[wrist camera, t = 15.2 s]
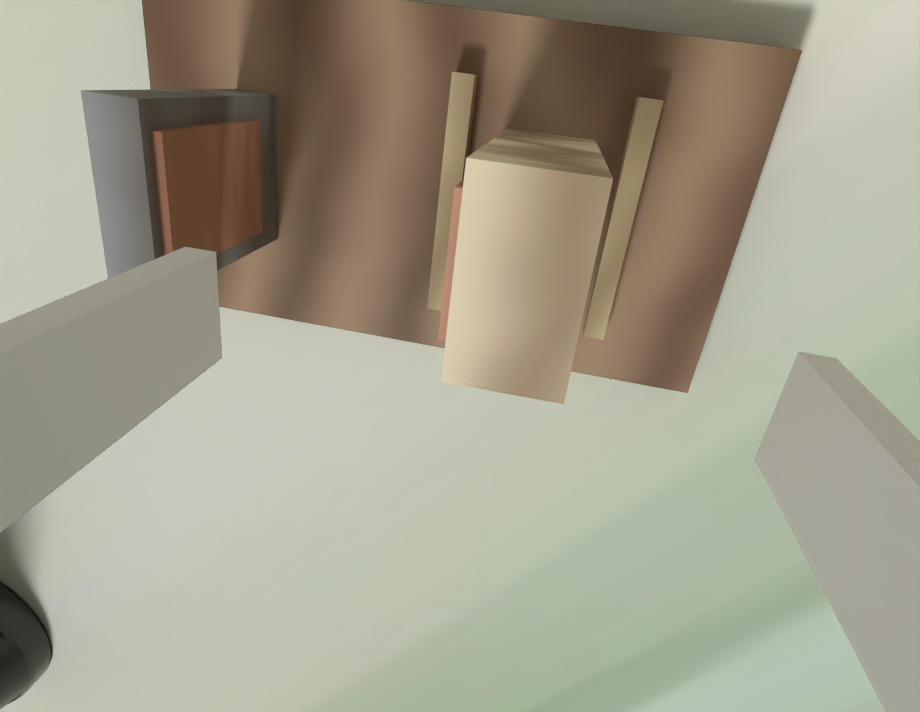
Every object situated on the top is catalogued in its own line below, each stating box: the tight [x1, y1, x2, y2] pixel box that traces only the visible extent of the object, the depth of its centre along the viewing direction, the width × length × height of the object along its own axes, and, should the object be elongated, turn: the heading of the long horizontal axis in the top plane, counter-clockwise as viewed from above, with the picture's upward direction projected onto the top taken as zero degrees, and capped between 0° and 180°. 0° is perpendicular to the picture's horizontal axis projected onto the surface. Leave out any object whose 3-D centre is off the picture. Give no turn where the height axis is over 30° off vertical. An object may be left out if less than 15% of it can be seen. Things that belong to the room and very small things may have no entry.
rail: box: [81, 0, 802, 393], centre depth 25 cm, size 29×16×12 cm, turn 83°
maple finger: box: [438, 129, 613, 404], centre depth 23 cm, size 4×7×12 cm, turn 173°
